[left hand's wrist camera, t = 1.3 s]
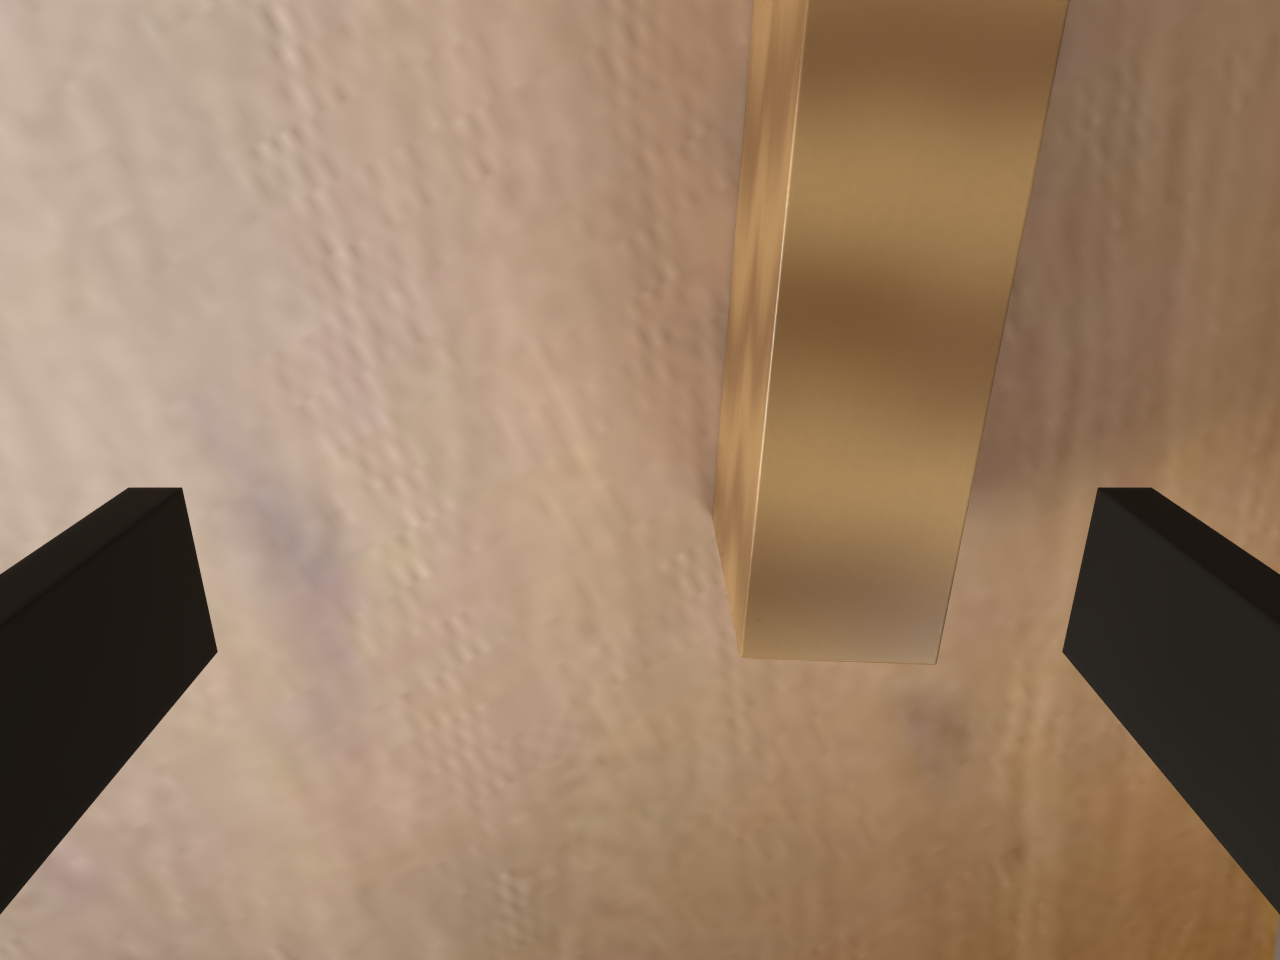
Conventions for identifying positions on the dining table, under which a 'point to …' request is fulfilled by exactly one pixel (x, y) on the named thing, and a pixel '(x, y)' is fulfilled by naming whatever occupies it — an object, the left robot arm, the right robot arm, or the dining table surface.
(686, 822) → the dining table surface
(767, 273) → the bar
